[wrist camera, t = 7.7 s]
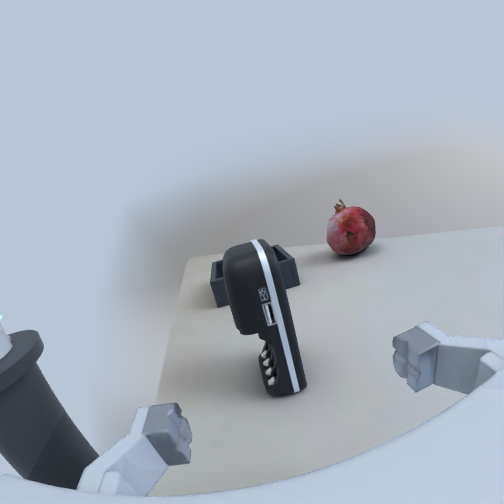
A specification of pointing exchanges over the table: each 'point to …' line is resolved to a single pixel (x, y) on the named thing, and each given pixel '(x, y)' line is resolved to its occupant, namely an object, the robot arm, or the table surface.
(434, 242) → the table surface
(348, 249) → the fruit
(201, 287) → the table surface
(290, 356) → the battery charger
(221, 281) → the tote
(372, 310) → the table surface
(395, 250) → the table surface
